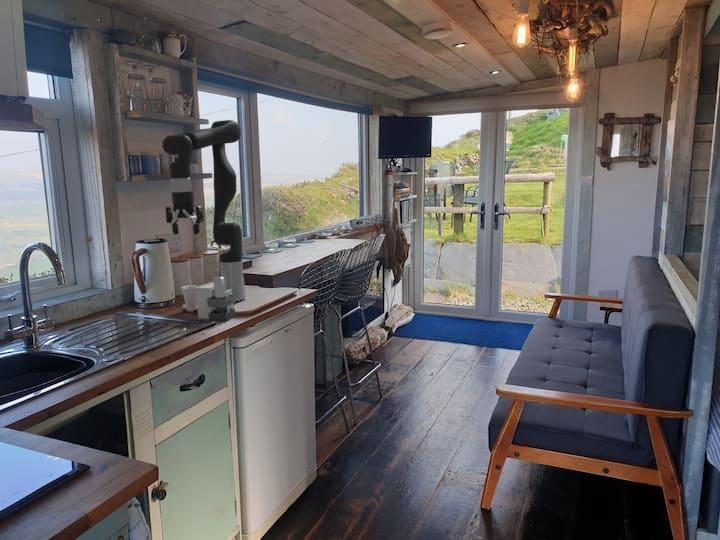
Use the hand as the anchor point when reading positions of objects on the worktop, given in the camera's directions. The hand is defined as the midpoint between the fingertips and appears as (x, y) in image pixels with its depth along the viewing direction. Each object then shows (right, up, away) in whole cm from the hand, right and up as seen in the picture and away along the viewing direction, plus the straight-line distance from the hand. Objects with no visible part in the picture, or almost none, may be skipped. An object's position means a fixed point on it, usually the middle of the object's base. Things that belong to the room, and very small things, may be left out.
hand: (186, 234), depth 203 cm
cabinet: (+11, -31, +6) cm, 34 cm away
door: (+14, -31, +5) cm, 35 cm away
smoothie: (-3, -30, +16) cm, 34 cm away
